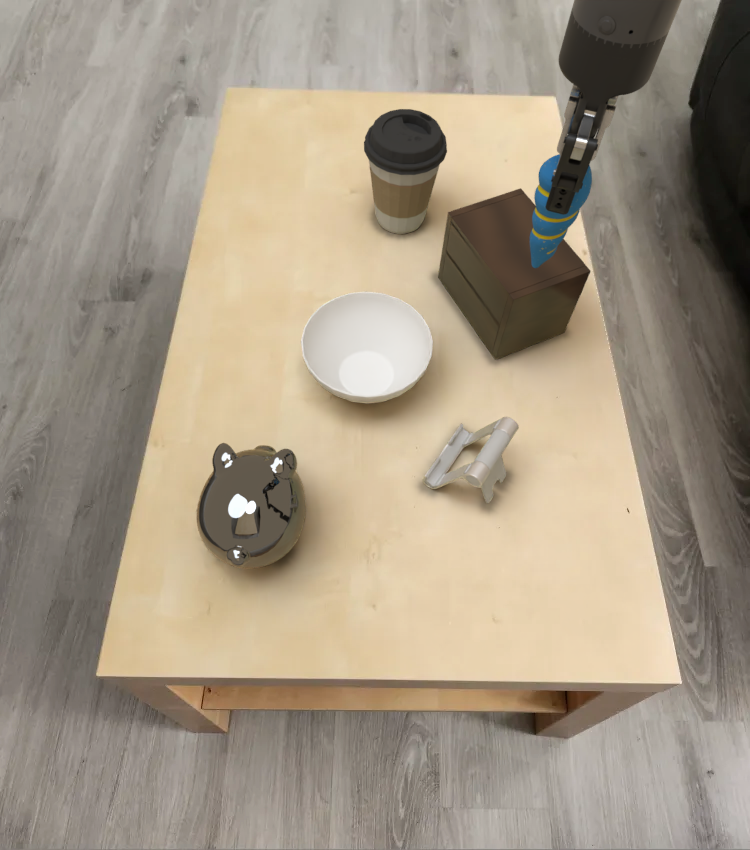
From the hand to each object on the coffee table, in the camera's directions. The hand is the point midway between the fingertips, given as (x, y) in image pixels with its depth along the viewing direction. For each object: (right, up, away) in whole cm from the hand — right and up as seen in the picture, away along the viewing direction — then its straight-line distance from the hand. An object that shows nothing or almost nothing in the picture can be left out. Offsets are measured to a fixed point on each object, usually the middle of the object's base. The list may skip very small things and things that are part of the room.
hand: (562, 189), depth 66 cm
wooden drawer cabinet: (-1, -6, +29) cm, 29 cm away
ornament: (0, -5, +9) cm, 11 cm away
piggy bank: (-31, -35, +11) cm, 48 cm away
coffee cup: (-14, +8, +37) cm, 41 cm away
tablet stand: (-7, -29, +15) cm, 33 cm away
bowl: (-19, -16, +22) cm, 34 cm away
